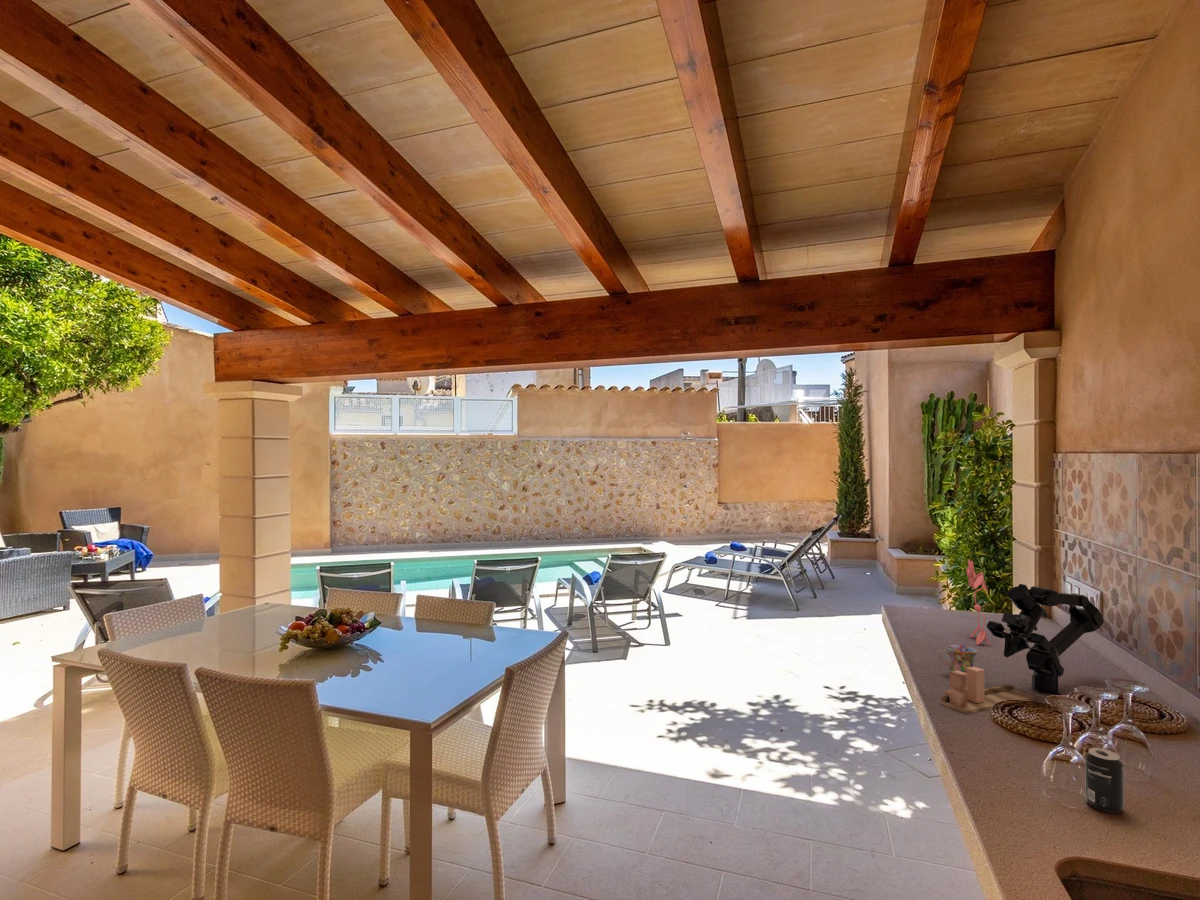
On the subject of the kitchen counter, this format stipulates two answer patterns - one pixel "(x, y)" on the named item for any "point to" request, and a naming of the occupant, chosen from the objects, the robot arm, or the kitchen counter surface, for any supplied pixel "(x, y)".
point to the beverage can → (1104, 780)
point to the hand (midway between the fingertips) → (1005, 656)
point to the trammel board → (959, 702)
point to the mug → (960, 657)
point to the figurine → (978, 582)
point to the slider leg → (975, 684)
